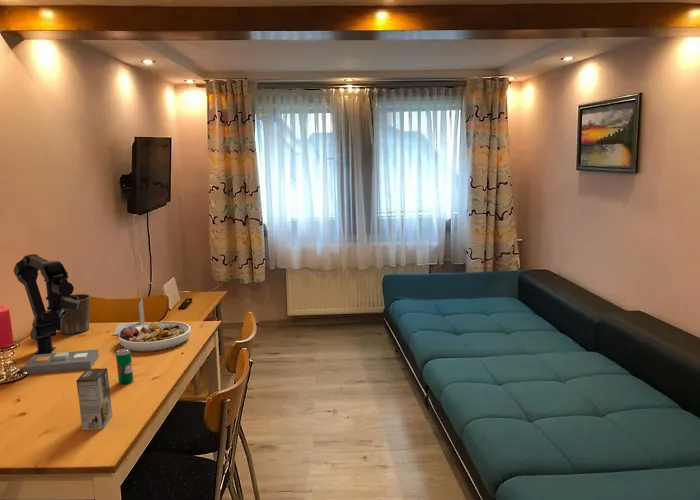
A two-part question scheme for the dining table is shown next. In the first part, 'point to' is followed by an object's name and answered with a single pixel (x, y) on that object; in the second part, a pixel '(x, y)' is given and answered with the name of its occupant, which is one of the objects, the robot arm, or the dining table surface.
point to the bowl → (154, 336)
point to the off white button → (80, 355)
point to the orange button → (42, 359)
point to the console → (61, 363)
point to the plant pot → (77, 316)
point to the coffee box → (94, 399)
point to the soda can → (124, 366)
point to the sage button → (61, 356)
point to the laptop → (126, 325)
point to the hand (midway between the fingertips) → (59, 330)
